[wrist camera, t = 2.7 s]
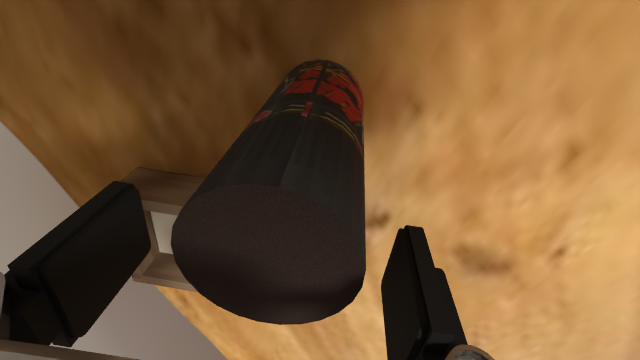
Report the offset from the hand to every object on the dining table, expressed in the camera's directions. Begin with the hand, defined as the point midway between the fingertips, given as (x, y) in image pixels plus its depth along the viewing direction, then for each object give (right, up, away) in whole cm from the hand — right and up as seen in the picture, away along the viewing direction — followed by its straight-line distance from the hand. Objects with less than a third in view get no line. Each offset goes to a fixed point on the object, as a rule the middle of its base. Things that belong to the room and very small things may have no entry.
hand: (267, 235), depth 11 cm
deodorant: (+2, +8, +11) cm, 13 cm away
